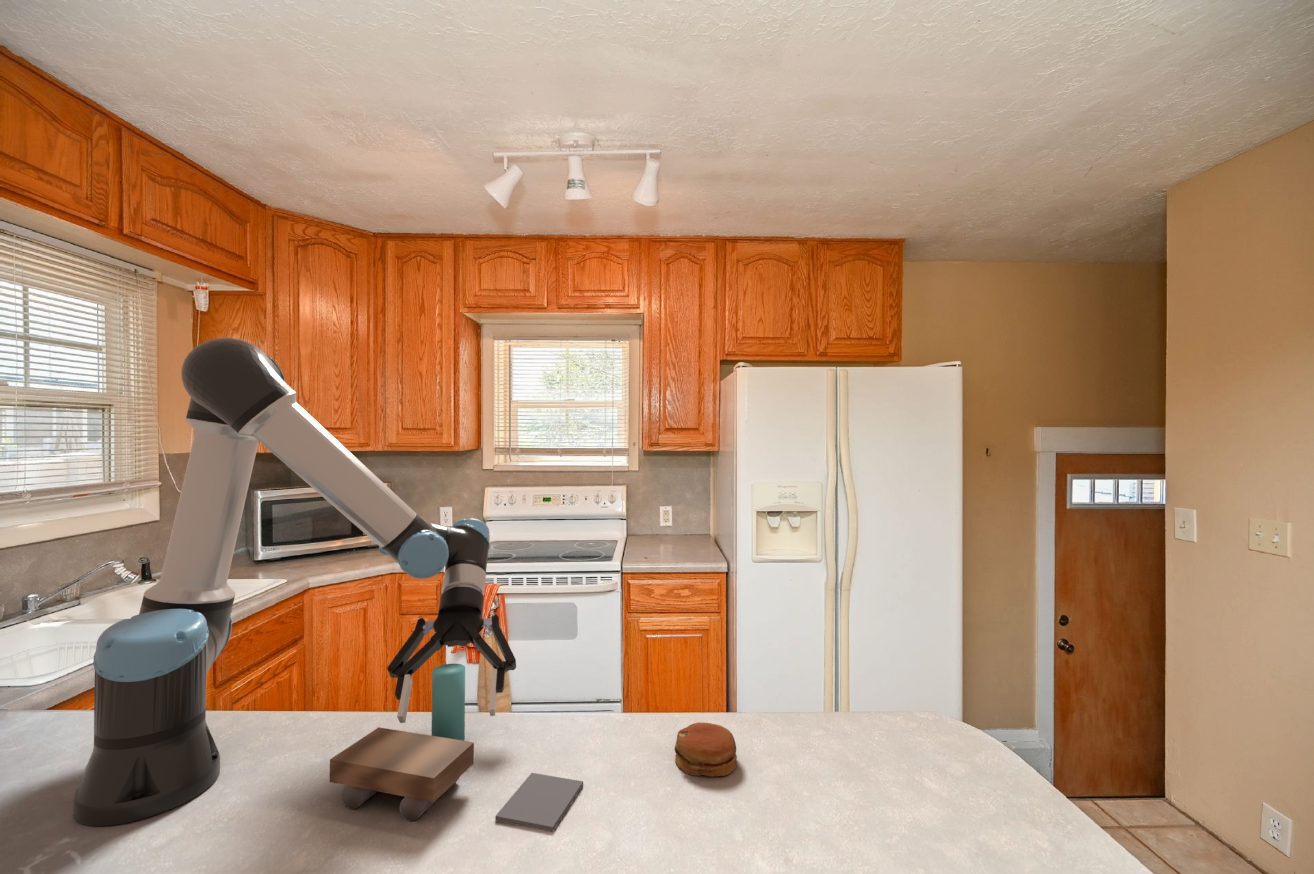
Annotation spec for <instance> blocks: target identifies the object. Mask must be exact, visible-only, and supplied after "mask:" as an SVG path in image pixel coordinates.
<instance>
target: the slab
mask: <svg viewBox="0 0 1314 874" xmlns="http://www.w3.org/2000/svg"><path fill="white" fill-rule="evenodd" d="M474 755H475V743H474V742H473V741H467V740H465V741H462V740H456V739H449V738H443V737H437V736H431V734H430V735H429V734H424V733H418V732H410V731H404V730H400V729H399V730H397V729H393V728H392V729H391V728H386V727H379V726H378V727H377V728H376V729H373V730H372V731H371V732H370V733H368V734H366V735H365V736H363V737H362V738H360V739H359V740H356V741H355V742H354V743H352V744H351V745H349V746H348V747H347V748H345V749H344V750H342V751H340V752H339V753H337V754H336V755H334V756H333V757H331V758H329V783H332V784H337V785H342V786H346V787H345V788H343V790H342V793H341V800H342V803H343V804H344V806H345V807H346V808H348V809H349V810H356V809H357V808H359V807H360V806H361V805H362V804H363V803H365V802H366V801H367V800H369V799H371V797H373V795H375V794H377V792H379V793H384V794H390V795H394V796H395V795H396V796H400V797H404V798H403V799H402V800H401V801H400V803H399V812H400V814H401V816H402V817H403V819H405V820H406V821H409V822H415V821H416V820H418V819H419V818H420V817H421V816H422V815H423V814H424V813H425V812H426V811H427V810H428V809H429V808H430V807H431V806H432V805H433V804H434V803H435V802H436V801H438V799H440V798H441V797H442V795H444V794H445V793H446V792H447V791H448V790H449V789H450V788H451V787H452V786H453V785H454V784H455V783H457V781H458V780H460V778H461V776H463V774H464V773H465V772H467V771H468V770H469V769H470V768H471V767H472V766H473V765H474V761H475V759H474V758H475V757H474Z"/></svg>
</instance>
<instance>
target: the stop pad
mask: <svg viewBox="0 0 1314 874" xmlns="http://www.w3.org/2000/svg"><path fill="white" fill-rule="evenodd" d="M583 787H584V781H583V780H577V779H572V778H565V777H559V776H555V775H554V776H553V775H547V774H542V773H536V772H531V773H530V774H529V775H528V776H527V778H526V779H525V780H524V781H523V783H522V784H521V785H520V786H519V787H518V788H517V790H516V791H515V792H514V793H513V794H512V795H511V797H510V798H508V800H507V801H506V803H505V804H504V805H503V806H502V808H501V809H500V810H499V811H498V812H497V813H496V814H495V819H494V820H495V821H496V822H501V823H506V824H510V825H515V826H516V825H517V826H522V827H527V828H533V829H537V830H542V831H547V832H551V833H552V832H554V831H555V829H556V828H557V827H558V824H559V823H560V822H561V820H562V819H563V817H564V815H565V814H566V812H567V811H568V809H569V807H570V806H571V805H572V803H573V802H574V801H575V799H576V797H578V796H577V795H579V793H580V792H581V790H582V788H583Z"/></svg>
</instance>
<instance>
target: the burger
mask: <svg viewBox="0 0 1314 874" xmlns="http://www.w3.org/2000/svg"><path fill="white" fill-rule="evenodd" d="M673 750H674V753H675V756H674V757H675V758H674V759H675V760H674V763H675V765H676V766H677V768H678V769H679V770H681V771H682V772H683V773H685V774H687V775H691V776H695V777H696V776H705V777H706V776H707V777H710V778H714V777H715V778H717V777H719V776H720V777H724V776H727V775H729V774H731V773H732V772H733V771H734V770H736V767H737V762H738V760H737V759H738V755H737V744H736V741H735V737H734V735H733V734H732V732H731V731H730V730H729V729H727V728H726V727H724V726H723V725H720V724H716V723H711V722H695V723H691V724H690V725H688V726H686V727H683V728H682V729H680V730H679V731H678V732H677V735H676V741H675V746H674V749H673Z"/></svg>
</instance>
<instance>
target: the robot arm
mask: <svg viewBox="0 0 1314 874" xmlns="http://www.w3.org/2000/svg"><path fill="white" fill-rule="evenodd" d="M181 380H182V384H183V388H184V389H185V391H186V392H187V394H188V396H189V397H190V399H189V403H188V407H187V413H186V417H185V421H186V422H187V423H188V425H190V427H191V428H192V429H193V431H194V436H193V439H192V444H191V449H190V453H189V456H188V460H187V461H188V462H187V464H186V468H185V469H186V470H185V473H184V478H183V482H182V485H181V490H180V495H179V498H178V501H177V502H178V504H177V508H176V512H175V516H174V521H173V524H172V527H171V532H170V537H169V541H168V545H167V550H166V553H165V557H164V561H163V562H164V563H163V567H162V571H161V573H160V579H159V581H158V582H156V583H155V584H153V585H152V586H151V587H149V588H147V589H145V591H144V593H143V597H142V601H141V604H140V608H139V612H138V614H136V615H132V616H131V617H130V618H125V619H121V620H119V621H117V622H115V623H113V624H111V625H110V626H108V627H107V628H106V629H105V630H103V632H102V633H101V634H100V635H99V636H98V639H97V640H96V646H95V652H94V653H93V662H92V665H93V668H94V693H93V694H94V695H93V696H94V699H93V701H94V705H93V706H94V707H93V708H94V709H93V748H92V751H91V755H90V757H89V759H88V762H87V764H86V767H85V769H84V772H83V774H82V777H81V780H80V783H79V785H78V787H77V789H76V790H75V793H74V797H73V817H74V819H75V821H77V822H78V823H79V824H82V825H87V826H93V827H94V826H95V827H98V826H99V827H101V826H103V827H104V826H114V825H115V826H116V825H121V824H126V823H131V822H136V821H139V820H143V819H147V818H151V817H153V816H156V815H159V814H162V813H164V812H167V811H170V810H172V809H174V808H175V809H176V807H179V806H181V805H183V804H186V803H187V802H189V801H190V800H193V799H194V798H196V797H198V796H199V795H201V794H202V793H203V792H205V791H206V790H208V789H209V788H210V787H212V785H213V784H215V782H216V781H217V780H218V778H219V776H220V773H221V756H220V755H221V754H220V752H219V750H218V747H217V745H216V742H215V739H214V738H213V736H212V733H211V731H210V729H209V726H208V724H207V720H206V715H207V712H206V711H207V675H208V672H209V670H210V669H211V668H212V666H213V664H214V663H215V661H216V660H217V658H218V657H219V656H221V654H222V652H223V651H224V649H225V647H226V646H227V645H228V644H229V643H228V642H229V640H230V639H231V635H232V632H233V631H232V629H233V626H232V625H233V623H232V622H233V621H232V611H233V607H234V602H235V598H236V592H235V590H234V589H233V588H232V587H230V585H229V584H228V579H229V574H230V570H231V566H232V561H233V558H234V557H233V556H234V553H235V548H236V543H237V539H238V536H239V535H238V534H239V530H240V526H241V523H242V522H241V521H242V518H243V514H244V513H243V512H244V507H245V504H246V501H247V495H248V490H249V486H250V482H251V476H252V473H253V469H254V465H255V460H256V455H257V451H258V448H259V443H260V444H262V446H264V447H265V448H266V449H267V450H268V451H270V452H271V454H273V455H274V456H275V457H277V458H278V459H279V460H280V461H281V462H282V463H284V464H285V465H286V467H288V468H289V469H290V470H292V471H293V472H294V473H295V474H296V476H298V477H299V478H301V479H302V480H303V481H304V482H305V483H306V484H307V485H308V486H309V487H311V488H312V489H313V490H314V491H315V492H317V494H319V495H320V496H321V497H322V498H324V500H326V501H327V502H328V503H329V504H330V505H331V506H333V507H334V508H335V509H336V510H337V511H338V512H340V513H341V514H342V515H343V516H344V517H346V519H348V521H350V522H351V523H352V524H353V525H354V526H356V527H357V528H358V529H359V530H360V531H361V532H363V534H365V535H366V536H368V538H369V539H371V541H373V542H374V543H375V544H376V545H377V546H378V552H379V554H381V555H384V556H387V557H390V558H392V559H393V560H394V561H395V562H396V563H397V564H398V565H399V567H400V569H401V570H402V571H403V572H404V573H405V574H407V575H408V576H410V577H411V578H414V579H417V580H418V579H419V580H420V579H421V580H423V579H424V580H426V579H430V578H432V577H435V576H436V575H438V574H440V572H441V571H443V570H444V573H443V580H442V585H441V586H442V587H441V595H440V600H439V605H438V611H437V612H438V613H437V617H436V619H435V620H434V621H430V620H425V618H423V617H419V618H418V619H417V621H416V624H415V628H414V630H413V632H412V633H411V634H410V636H409V637H408V638H407V639H406V641H405V642H404V644H403V645H402V646H401V648H400V649H399V651H398V652H397V653H396V655H395V656H394V657H393V659H392V660H391V662H390V663H389V665H388V666H387V672H388V674H389V677H390V678H393V679H394V678H395V679H397V681H396V686H395V690H394V695H395V698H396V700H397V701H399V705H398V711H397V719H398V721H399V723H400V724H404V723H405V724H406V721H407V717H408V716H407V715H408V710H409V705H410V704H409V703H410V698H411V693H412V687H413V678H412V675H414V673H416V672H417V671H418V669H420V668H421V667H422V666H423V665H424V664H425V663H426V662H427V661H428V660H429V659H430V658H431V657H432V656H433V655H434V654H435V653H436V652H437V651H440V650H441V649H442V648H443V647H444V646H446V647H447V648H451V647H452V648H453V647H457V646H460V647H467V645H469V644H471V645H472V646H473V647H474V648H475V649H477V651H478V652H479V653H480V654H481V655H482V657H484V659H485V660H486V661H487V662H488V663H489V665H491V667H492V668H493V669H492V671H491V681H490V692H489V693H490V694H489V707H488V708H489V709H488V710H489V712H488V713H489V716H490V717H494V716H496V708H497V707H496V706H497V694H501V693H503V692H504V689H505V676H506V673H507V672H509V671H515V670H516V668H517V661H516V657H515V655H514V653H513V651H512V649H511V647H510V644H509V643H508V641H507V639H506V637H505V635H504V633H503V631H502V629H501V627H500V626H501V625H500V617H499V615H498V614H493V615H492V617H490V618H483V610H484V600H485V599H484V598H485V597H484V594H485V589H486V577H487V567H488V566H487V565H488V558H489V551H490V546H491V545H490V528H489V527H488V525H487V524H486V522H483V520H480V519H478V518H473V517H471V518H468V519H467V518H461V519H458V520H457V521H455V522H454V523H453V525H452V526H447V525H443V524H438V523H434V522H430V521H425V520H424V519H423V518H421V516H420V515H418V513H417V512H415V511H414V510H413V509H412V508H411V506H409V505H408V504H407V503H406V502H405V501H404V500H403V499H402V498H400V497H399V496H398V495H397V494H396V492H394V491H393V490H392V489H390V487H389V486H387V485H386V483H384V482H383V481H382V480H381V479H380V478H379V477H378V476H377V475H375V473H374V472H372V471H371V470H370V469H369V468H368V467H367V466H366V465H365V464H364V463H363V462H362V461H360V459H359V458H358V457H356V456H355V455H354V454H353V453H352V452H351V451H350V450H349V449H347V448H346V446H344V445H343V444H342V442H340V441H339V440H338V439H337V438H336V437H335V436H333V435H332V434H331V433H330V432H329V431H328V430H327V429H326V428H325V427H323V426H322V424H320V423H319V422H318V420H316V418H314V417H313V416H312V415H311V414H310V413H308V411H306V410H305V409H304V408H303V407H302V406H301V405H300V404H299V403H298V402H297V391H296V390H294V388H293V387H291V386H290V385H289V384H288V383H287V382H286V379H285V377H284V373H283V371H282V370H281V368H280V366H279V365H278V364H277V362H276V361H275V360H274V359H273V358H272V357H270V356H269V355H267V354H266V353H265V352H264V351H263V350H261V349H260V348H259V347H258V346H256V345H254V344H252V343H250V342H248V341H246V340H242V339H239V338H231V337H218V338H213V339H209V340H207V341H204V342H202V343H200V344H198V345H197V346H195V347H194V348H192V350H191V351H190V352H189V353H188V354H187V356H186V357H185V358H184V360H183V363H182V366H181ZM484 627H485V628H487V631H489V632H490V633H491V632H492V634H493V637H494V640H495V642H496V644H497V646H498V648H499V650H500V652H501V654H502V656H503V659H504V660H502V659H501V658H500V656H499V655H498V654H497V653H496V652H495V651H494V650H493V648H492V647H491V646H490V645H489V644H488V642H486V640H485V638H483V637H482V635H481V631H482V630H483V629H484ZM432 630H434V632H435V633H434V634H433V635H432V636H431V637H430V639H429V640H428V641H427V642H426V644H424V645H423V646H422V647H421V648H420V649H419V650H418V651H417V652H416V653H415V654H414V655H413V653H414V652H415V651H416V650H417V648H418V647H419V646H420V645H421V642H422V641H423V639H424V637H425V636H426V635H427V636H428V634H429V633H430V631H432Z"/></svg>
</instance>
